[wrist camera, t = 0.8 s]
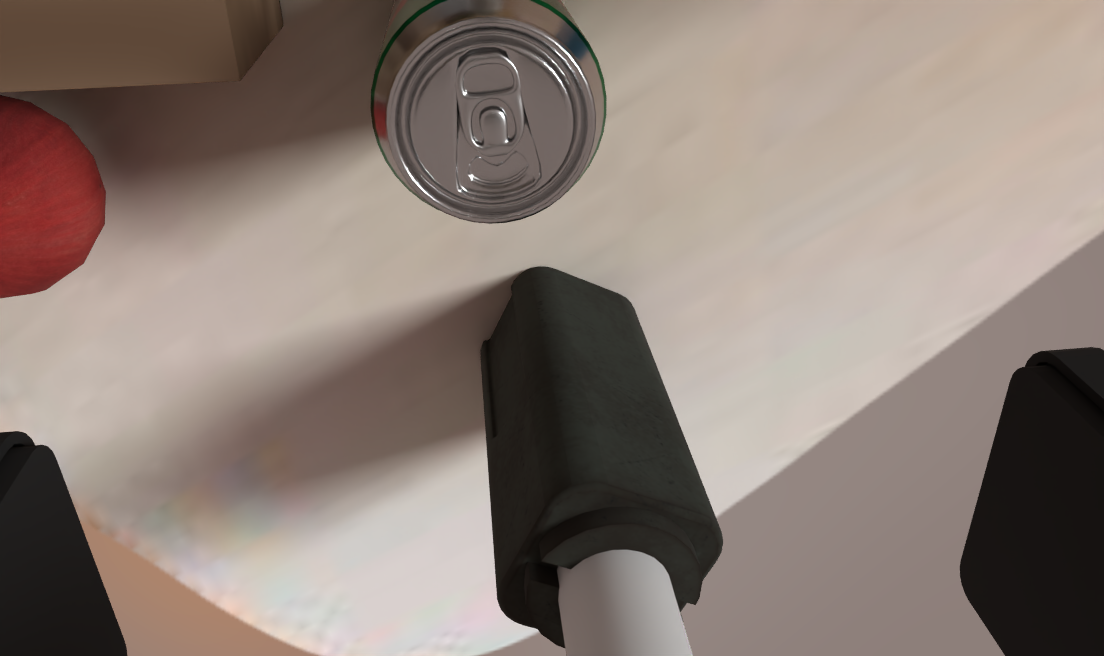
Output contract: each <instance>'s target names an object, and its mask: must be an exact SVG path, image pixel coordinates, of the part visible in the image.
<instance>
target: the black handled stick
mask: <svg viewBox="0 0 1104 656" xmlns="http://www.w3.org/2000/svg"><path fill="white" fill-rule="evenodd" d="M511 289H512V297H511V299H510V301H509V303H508V305H507V307H506V309H505V311H504V313H503V315H502V317H501V319H500V321H499V323H498V325H497V327H496V329H495V331H494V333H493V335H492V337H491V339H490V340H489V341H484V342H483V345H482V348H481V371H482V385H483V400H484V414H485V429H486V443H487V458H488V472H489V487H490V501H491V516H492V530H493V545H494V559H495V574H496V588H497V600H498V603H499V606H500V608H501V610H502V611H503V612H504V614H505V615H506V616H507V617H508V618H510V619H511V620H513V621H514V622H516V623H519V624H522V625H525V626H528V627H532V628H536V629H538V630H539V632H540V633H541V634H542V635H543V636H545V637H546V638H547V639H549V640H550V641H552V642H553V643H555V644H556V645H558V646H561V647H563V648H565V649H566V656H693V654H692V651H691V648H690V644H689V641H688V638H687V635H686V631H685V628H684V624H683V619H682V616H681V613H680V612H681V610H682V609H683V608H684V606H685V605H686V603H690V604H694V605H696V603H697V601H698V599H699V597H700V591H701V585H702V581H703V579H704V578H705V577H706V575H707V574H708V572H709V571H710V570H711V568H712V567H713V565H714V564H715V563H716V561H717V559H718V557H719V556H720V554H721V551H722V546H723V538H722V533H721V530H720V527H719V524H718V522H717V519H716V517H715V514H714V512H713V509H712V506H711V504H710V501H709V499H708V496H707V494H706V491H705V489H704V486H703V483H702V481H701V478H700V476H699V473H698V471H697V468H696V466H695V463H694V460H693V458H692V455H691V453H690V450H689V448H688V445H687V443H686V440H685V437H684V435H683V432H682V430H681V427H680V425H679V422H678V420H677V417H676V414H675V412H674V409H673V407H672V404H671V402H670V399H669V397H668V394H667V391H666V389H665V386H664V384H663V381H662V379H661V376H660V373H659V371H658V368H657V366H656V363H655V361H654V358H653V356H652V353H651V350H650V348H649V345H648V343H647V340H646V338H645V335H644V333H643V330H642V327H641V325H640V322H639V320H638V317H637V315H636V312H635V310H634V308H633V306H632V304H631V302H630V301H629V300H628V299H627V298H625V297H624V296H622V295H620V294H618V293H615V292H613V291H610V290H608V289H605V288H603V287H600V286H597V285H595V284H592V283H590V282H587V281H585V280H582V279H579V278H577V277H574V276H572V275H569V274H567V273H564V272H562V271H559V270H556V269H553V268H549V267H536V268H531V269H529V270H527V271H525V272H523V273H522V274H521V275H519V276H518V277H517V278H516V280H515V281H514V282H513V284H512V286H511Z"/></svg>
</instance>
